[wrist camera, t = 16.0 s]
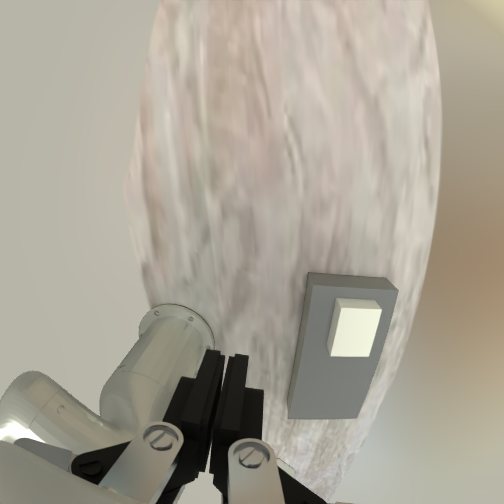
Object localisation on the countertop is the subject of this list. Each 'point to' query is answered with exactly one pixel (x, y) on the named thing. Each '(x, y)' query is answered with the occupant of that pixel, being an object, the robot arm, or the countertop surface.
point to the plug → (353, 327)
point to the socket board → (317, 354)
